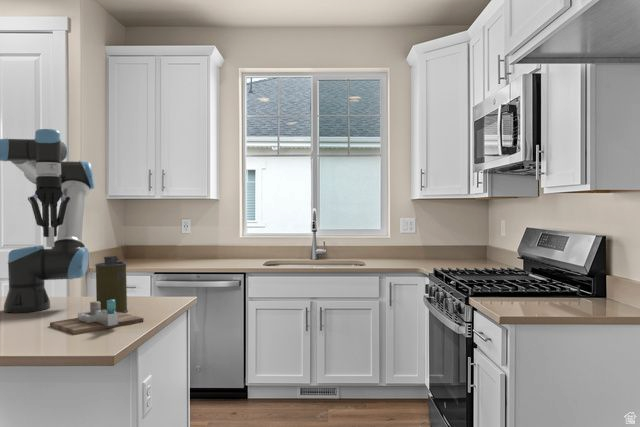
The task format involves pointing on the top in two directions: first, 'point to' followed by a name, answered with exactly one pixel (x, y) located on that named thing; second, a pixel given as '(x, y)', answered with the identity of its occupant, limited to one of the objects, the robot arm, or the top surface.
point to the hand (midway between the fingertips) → (50, 246)
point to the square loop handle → (102, 315)
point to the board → (82, 327)
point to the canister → (111, 283)
